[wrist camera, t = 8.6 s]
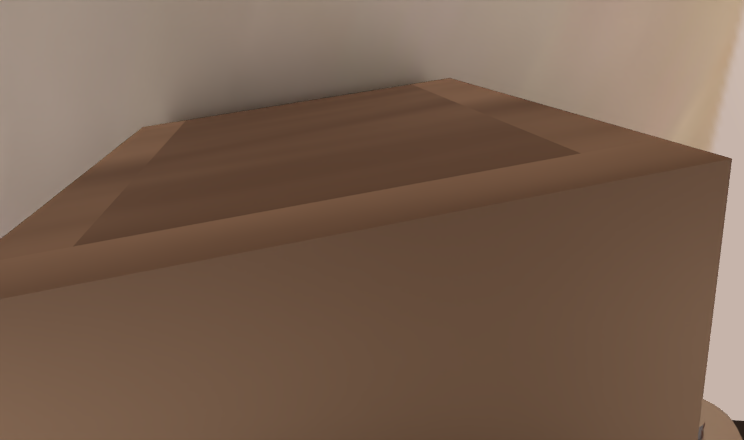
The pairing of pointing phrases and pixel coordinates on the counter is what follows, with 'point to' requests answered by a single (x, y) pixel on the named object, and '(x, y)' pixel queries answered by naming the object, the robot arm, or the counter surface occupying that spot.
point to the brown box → (369, 278)
